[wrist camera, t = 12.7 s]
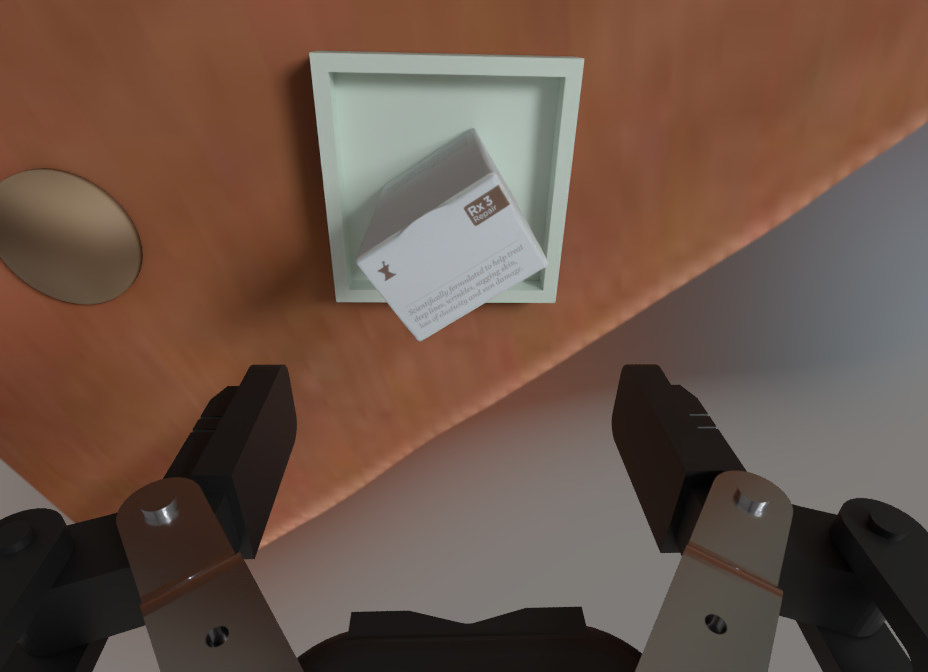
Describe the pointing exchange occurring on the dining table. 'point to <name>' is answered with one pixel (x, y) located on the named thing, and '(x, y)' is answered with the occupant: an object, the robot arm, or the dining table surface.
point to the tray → (444, 141)
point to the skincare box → (447, 238)
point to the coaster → (67, 236)
